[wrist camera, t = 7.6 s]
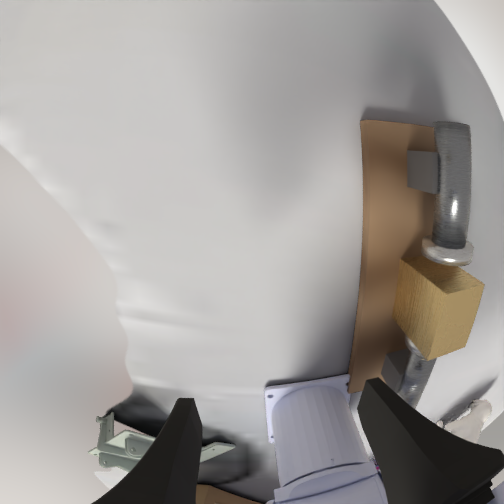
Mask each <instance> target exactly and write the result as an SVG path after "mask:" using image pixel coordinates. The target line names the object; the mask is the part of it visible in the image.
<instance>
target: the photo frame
mask: <svg viewBox="0 0 504 504" xmlns="http://www.w3.org/2000/svg"><path fill="white" fill-rule="evenodd" d="M196 504H261V503H258V502H255V501H251V500H248V499H245V498H242V497H239V496H236V495H233V494H230V493H228V492H225V491H222V490H220V489H217V488H215V487H212V486H210V485H198V484H197V486H196Z"/></svg>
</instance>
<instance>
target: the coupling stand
mask: <svg viewBox="0 0 504 504" xmlns="http://www.w3.org/2000/svg"><path fill="white" fill-rule="evenodd" d="M433 124H434V127H428V126H422V125H415V124H407V123H398V122H389V121H378V120H363V121H360V127H361V141H362V162H363V236H362V257H361V272H360V285H359V296H358V305H357V314H356V323H355V330H354V338H353V345H352V351H351V358H350V364H349V369H348V374H349V375H350V379H349V382H347V384H348V389H347V392H348V394H350V393H355V392H359V391H363V388H364V385H365V381H366V380H368V379H372V378H376V377H379V378H380V379H381V380H382V381H383V382H385V383H386V384H387V385H388V386H389V387H390V388H391V389H392V390H393V391H394V392H395V393H397V394H398V395H399V396H400V397H401V398H402V399H403V400H404V401H406V402H407V403H408V404H409V405H410V406H412V407H413V408H414V409H415V408H416V406H417V404H418V402H419V400H420V397H421V395H422V393H423V391H424V389H425V386H426V384H427V382H428V379H429V377H430V374H431V372H432V369H433V367H434V364H435V361H436V359H437V358H434V359H431V360H428V361H427V360H426V359H425V358H424V356H423V355H422V354H421V352H420V351H419V350H418V349H417V347H416V346H415V345H414V344H413V342H412V341H411V340H410V339H409V337H408V336H407V335H406V334H405V332H404V331H403V330H402V329H401V328H400V326H399V325H398V324H397V323H396V322H395V320H394V319H393V318H392V313H393V308H394V302H395V296H396V289H397V282H398V275H399V267H400V259H402V258H410V257H417V256H424V257H426V258H427V259H429V260H431V261H433V262H436V263H439V264H443V265H448V266H465V265H468V264H470V263H471V261H472V256H473V250H474V247H473V245H472V244H471V243H470V242H468V241H466V238H467V231H468V222H469V211H470V198H471V133H470V126H469V125H466V124H461V123H455V122H434V123H433Z"/></svg>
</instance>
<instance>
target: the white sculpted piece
mask: <svg viewBox="0 0 504 504" xmlns="http://www.w3.org/2000/svg"><path fill="white" fill-rule="evenodd" d="M472 401H473V403H472V404H471V405H470V407H471V412H470V413H469V414H468V415H466V416H464V417H462V418H461V419H460V420H456V421H453V422H450V423H448V424H447V425H446V426H445V430H446V431H450V430H452V431H451V432H450V433H452V434H454V435H456V436H458V437H460V438H463V439H465V440H467V441H470V442H473V443H476V444H477V440H478V438H479V436H480V433H481V429H482V427H483V425H484V423H485V422H486V420H487V419H488V418H489V416H490V414H491V411H492V406H491V404H490V402H489V401H487V400H478V399H475V400H472ZM436 425H438V426H439V427H441V428H443V422H442V421H441V420H440V421H438V422H437V423H436Z"/></svg>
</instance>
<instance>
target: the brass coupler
mask: <svg viewBox="0 0 504 504" xmlns="http://www.w3.org/2000/svg"><path fill="white" fill-rule="evenodd" d="M484 285H485V284H483V283H482V282H480V281H479V280H478V279H476V278H475V277H473V276H472V275H470V274H469V273H467V272H466V271H464V270H463V269H461V268H459V267H458V266H448V265H443V264H439V263H436V262H433V261H431V260H429V259H427V258H426V257H424V256H417V257H410V258H402V259H400V267H399V275H398V282H397V289H396V296H395V302H394V308H393V313H392V318H393V319H394V320H395V322H396V323H397V324H398V325H399V326H400V328H401V329H402V330H403V331H404V332H405V334H406V335H407V336H408V337H409V339H410V340H411V341H412V342H413V344H414V345H415V346H416V347H417V349H418V350H419V351H420V352H421V354H422V355H423V356H424V358H425V359H426V360H427V361H428V360H431V359H434V358H437V357H440V356H443V355H445V354H448V353H451V352H453V351H456V350H458V349H461V348H463V347H465V345H466V343H467V340H468V337H469V334H470V332H471V329H472V326H473V323H474V320H475V317H476V313H477V310H478V307H479V303H480V300H481V296H482V292H483V289H484Z"/></svg>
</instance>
